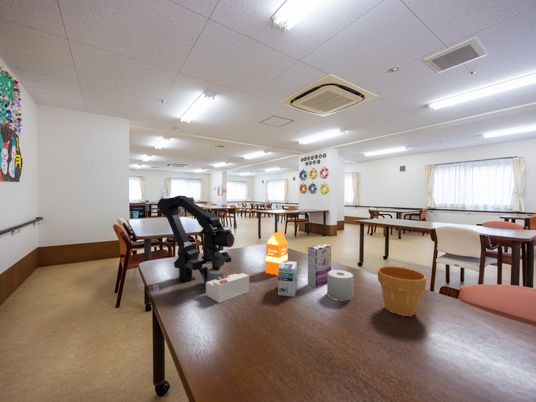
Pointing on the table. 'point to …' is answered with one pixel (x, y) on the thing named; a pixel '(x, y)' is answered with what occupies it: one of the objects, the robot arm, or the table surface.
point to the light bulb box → (287, 278)
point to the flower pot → (401, 288)
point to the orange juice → (276, 252)
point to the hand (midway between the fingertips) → (209, 281)
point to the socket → (228, 287)
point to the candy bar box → (319, 264)
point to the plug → (213, 275)
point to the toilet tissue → (340, 285)
